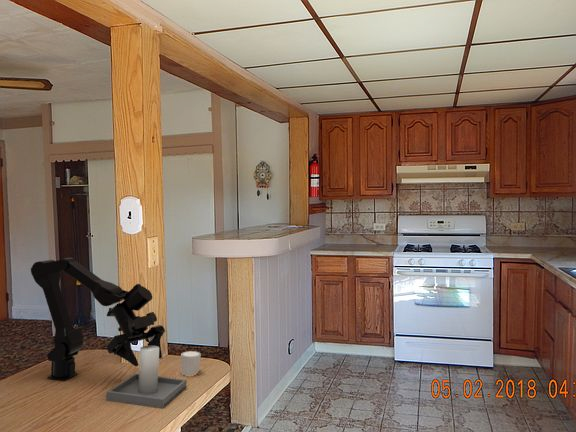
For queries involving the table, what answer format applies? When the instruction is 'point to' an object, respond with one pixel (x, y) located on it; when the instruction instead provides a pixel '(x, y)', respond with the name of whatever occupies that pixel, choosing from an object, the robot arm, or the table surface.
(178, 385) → the tray
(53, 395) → the table surface
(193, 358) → the shot glass
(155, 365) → the candle
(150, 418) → the table surface
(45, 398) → the table surface
